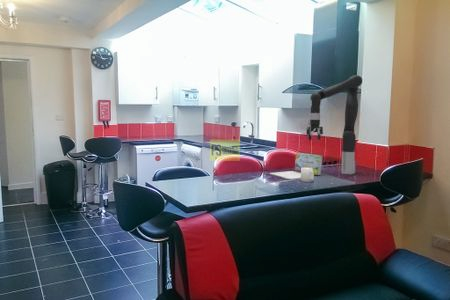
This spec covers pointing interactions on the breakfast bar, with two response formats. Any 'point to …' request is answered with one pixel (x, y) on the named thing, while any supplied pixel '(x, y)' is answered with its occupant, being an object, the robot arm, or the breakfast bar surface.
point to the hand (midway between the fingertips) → (314, 140)
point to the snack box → (308, 162)
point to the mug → (307, 174)
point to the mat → (288, 175)
